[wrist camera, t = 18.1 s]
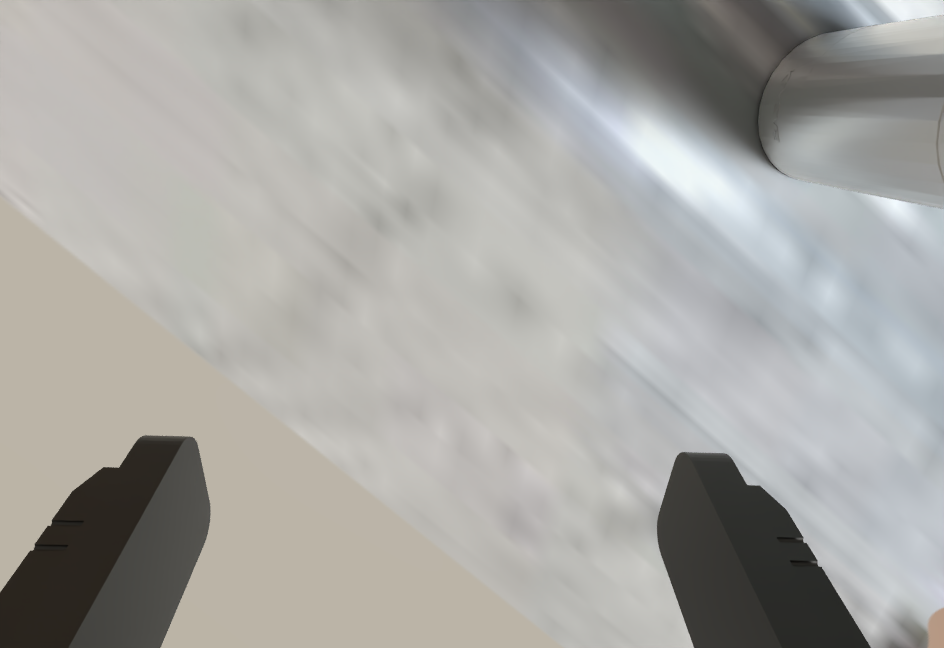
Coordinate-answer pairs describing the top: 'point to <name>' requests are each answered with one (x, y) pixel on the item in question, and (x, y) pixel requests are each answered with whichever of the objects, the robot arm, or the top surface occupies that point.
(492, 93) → the top surface
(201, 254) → the top surface
